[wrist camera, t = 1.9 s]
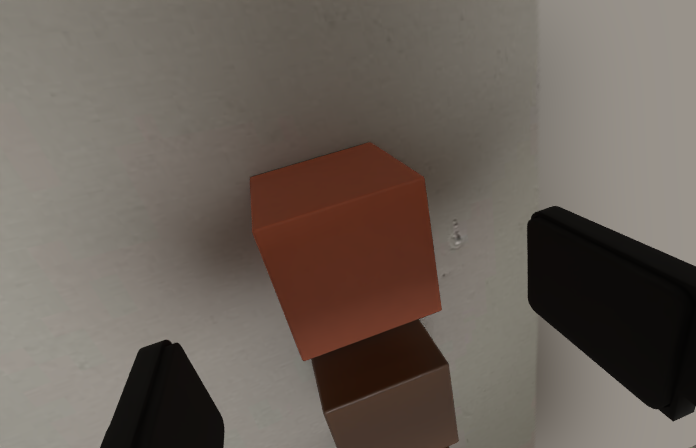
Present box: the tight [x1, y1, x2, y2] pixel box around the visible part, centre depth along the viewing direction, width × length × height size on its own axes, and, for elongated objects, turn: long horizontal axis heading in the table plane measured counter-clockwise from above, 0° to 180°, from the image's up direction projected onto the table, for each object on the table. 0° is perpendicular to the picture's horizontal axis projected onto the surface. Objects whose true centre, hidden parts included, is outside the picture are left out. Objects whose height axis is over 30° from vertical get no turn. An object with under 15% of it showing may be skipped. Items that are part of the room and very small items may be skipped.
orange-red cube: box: [250, 142, 442, 361], centre depth 12 cm, size 5×5×5 cm
